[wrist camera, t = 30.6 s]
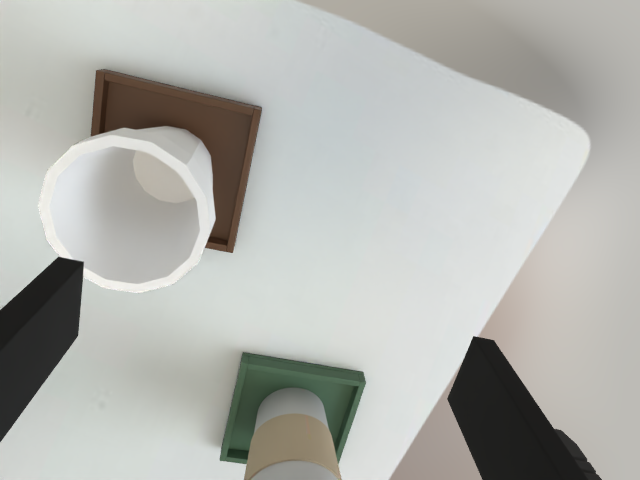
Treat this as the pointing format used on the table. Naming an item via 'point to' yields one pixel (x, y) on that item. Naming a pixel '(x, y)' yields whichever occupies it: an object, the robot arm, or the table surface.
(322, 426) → the coffee cup
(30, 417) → the table surface
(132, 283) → the foam cup
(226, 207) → the walnut tray
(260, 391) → the sage tray
